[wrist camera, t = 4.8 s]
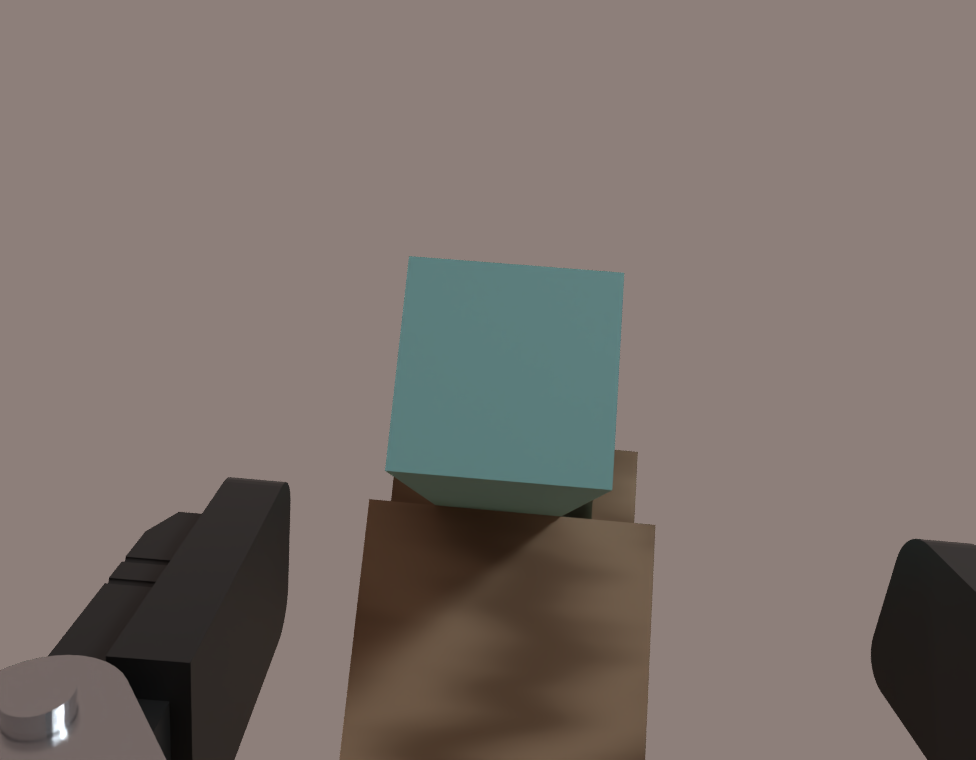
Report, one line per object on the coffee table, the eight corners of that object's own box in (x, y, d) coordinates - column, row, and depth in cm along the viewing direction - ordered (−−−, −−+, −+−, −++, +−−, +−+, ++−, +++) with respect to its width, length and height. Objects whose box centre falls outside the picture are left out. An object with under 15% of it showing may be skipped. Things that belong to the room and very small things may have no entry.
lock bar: (535, 529, 38) (541, 454, 39) (612, 489, 12) (624, 272, 13) (461, 522, 38) (468, 448, 39) (384, 470, 13) (408, 256, 13)
